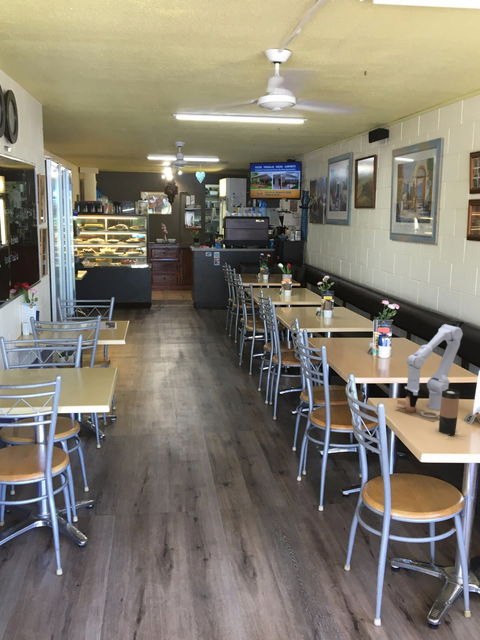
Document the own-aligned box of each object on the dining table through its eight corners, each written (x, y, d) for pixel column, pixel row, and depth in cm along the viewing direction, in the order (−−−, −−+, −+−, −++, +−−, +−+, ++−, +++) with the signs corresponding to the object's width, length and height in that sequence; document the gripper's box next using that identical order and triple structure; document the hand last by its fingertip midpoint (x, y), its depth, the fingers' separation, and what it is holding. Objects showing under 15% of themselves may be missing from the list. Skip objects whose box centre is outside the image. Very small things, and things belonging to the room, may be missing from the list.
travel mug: (456, 437, 276) (460, 394, 272) (439, 435, 277) (442, 393, 274) (454, 431, 283) (458, 389, 280) (437, 429, 285) (440, 388, 281)
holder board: (408, 407, 317) (408, 403, 316) (446, 419, 300) (447, 415, 300) (394, 412, 309) (394, 407, 309) (433, 424, 292) (433, 419, 292)
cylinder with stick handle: (417, 410, 308) (418, 398, 307) (412, 412, 305) (412, 400, 304) (400, 405, 316) (401, 393, 314) (394, 407, 312) (395, 395, 311)
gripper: (402, 374, 313) (400, 400, 315) (408, 382, 299) (406, 409, 301) (417, 375, 312) (414, 401, 315) (422, 383, 298) (420, 410, 301)
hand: (411, 405), depth 308 cm, fingers closed on cylinder with stick handle, 5 cm apart
